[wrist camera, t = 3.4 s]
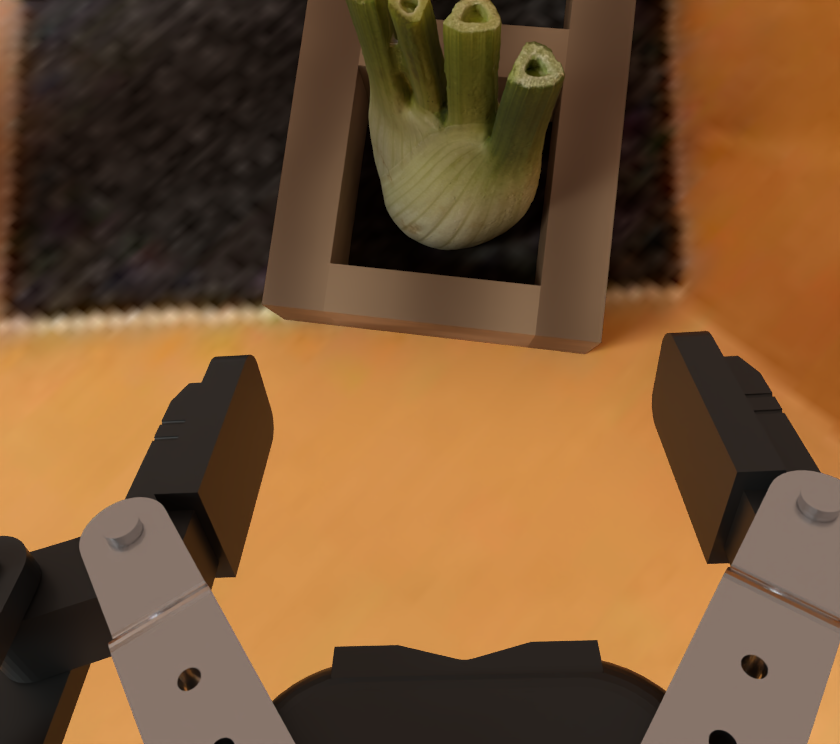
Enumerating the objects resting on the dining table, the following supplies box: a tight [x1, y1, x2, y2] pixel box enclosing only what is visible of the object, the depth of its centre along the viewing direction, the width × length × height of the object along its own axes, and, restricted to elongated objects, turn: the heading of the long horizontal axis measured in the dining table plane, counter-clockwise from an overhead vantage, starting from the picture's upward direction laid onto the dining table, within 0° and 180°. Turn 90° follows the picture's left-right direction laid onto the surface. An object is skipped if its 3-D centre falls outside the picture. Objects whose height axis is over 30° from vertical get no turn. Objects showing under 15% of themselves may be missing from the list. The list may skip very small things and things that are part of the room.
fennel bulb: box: [345, 0, 565, 250], centre depth 21 cm, size 6×5×12 cm
